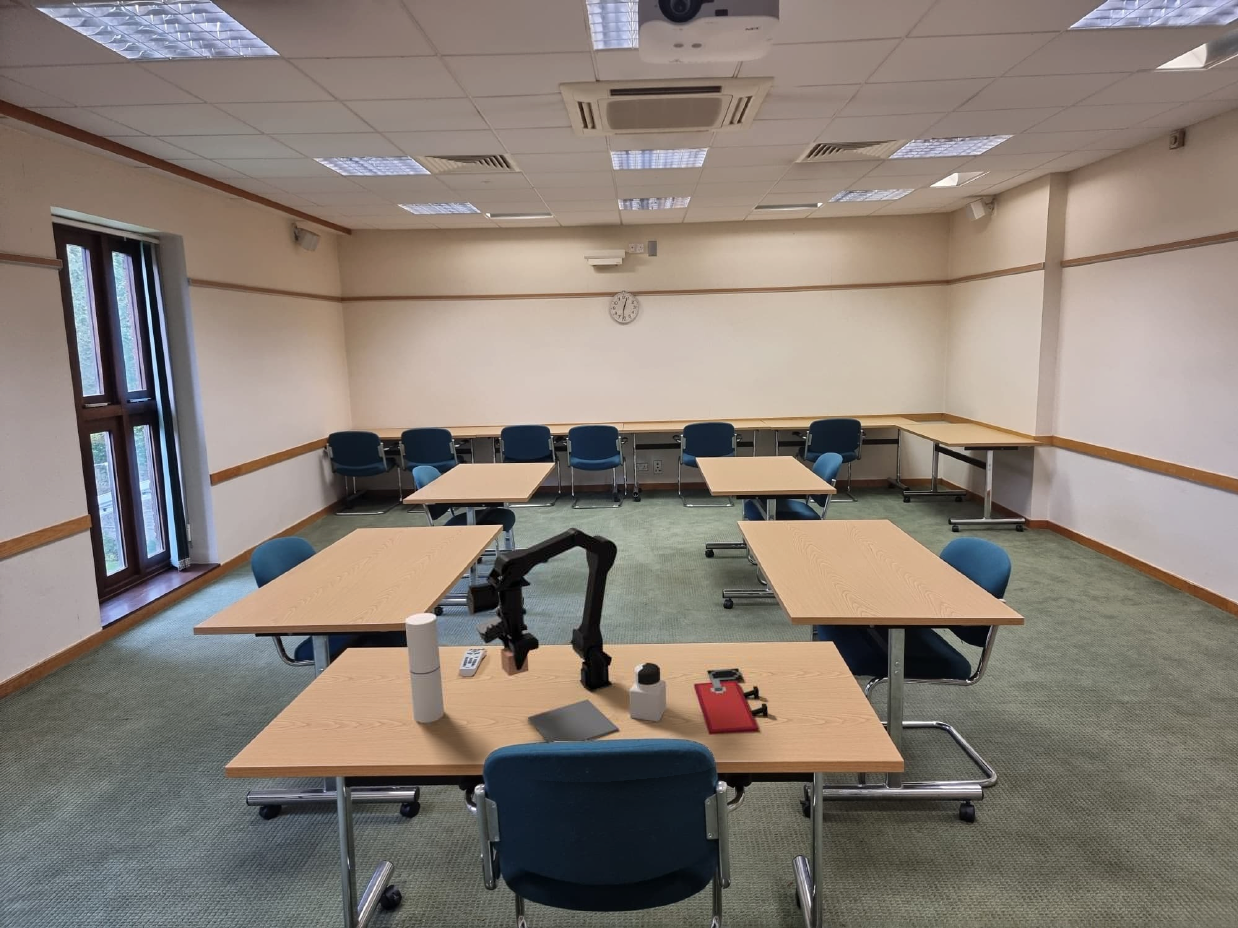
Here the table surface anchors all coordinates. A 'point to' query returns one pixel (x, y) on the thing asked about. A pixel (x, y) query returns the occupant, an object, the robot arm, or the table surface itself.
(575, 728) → the gray mat
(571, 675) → the table surface
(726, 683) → the red board with handle
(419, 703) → the cylindrical container
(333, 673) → the table surface
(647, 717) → the medicine bottle
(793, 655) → the table surface
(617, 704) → the table surface
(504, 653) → the terracotta cube
